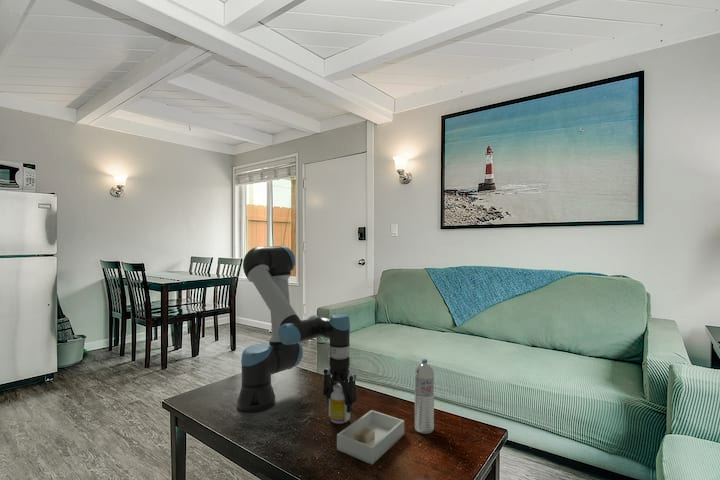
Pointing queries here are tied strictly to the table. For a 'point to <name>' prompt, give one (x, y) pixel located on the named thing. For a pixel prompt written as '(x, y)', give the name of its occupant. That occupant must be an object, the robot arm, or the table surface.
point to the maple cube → (365, 435)
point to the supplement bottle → (337, 404)
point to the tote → (385, 436)
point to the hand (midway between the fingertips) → (339, 417)
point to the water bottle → (424, 398)
